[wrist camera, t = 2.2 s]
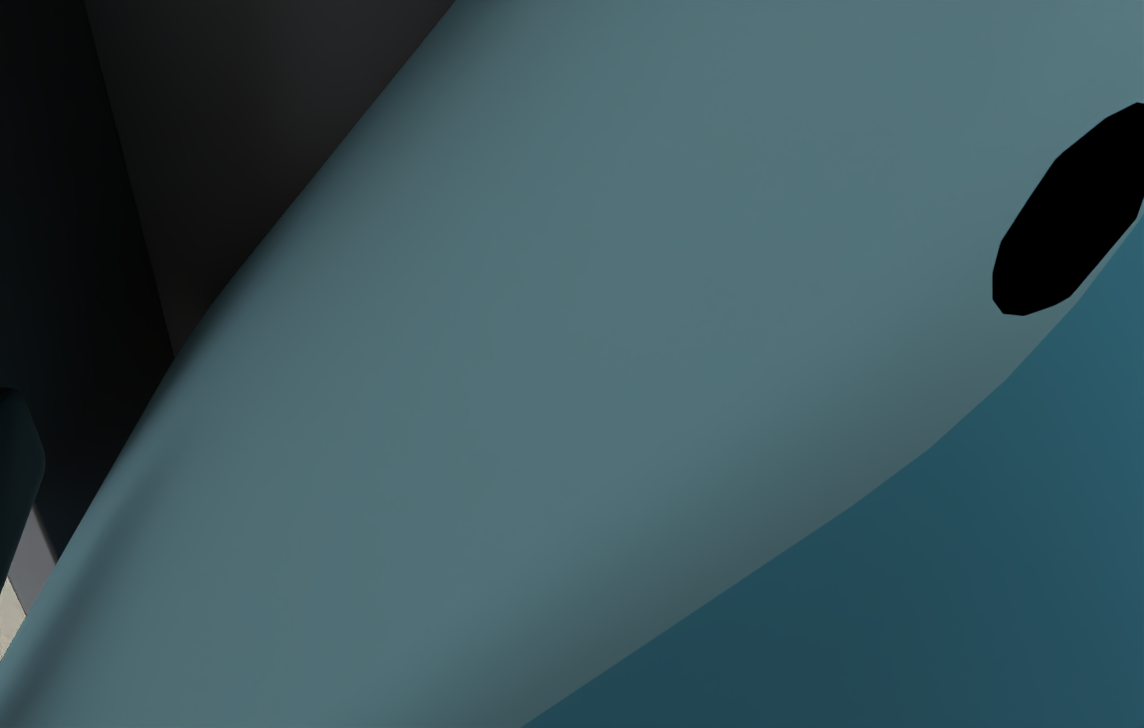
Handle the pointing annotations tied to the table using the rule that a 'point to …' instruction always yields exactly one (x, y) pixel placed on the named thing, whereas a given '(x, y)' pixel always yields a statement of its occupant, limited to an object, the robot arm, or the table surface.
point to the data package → (656, 394)
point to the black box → (153, 195)
